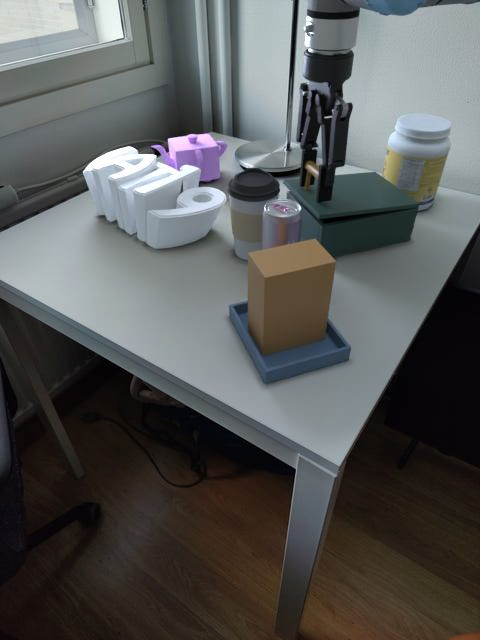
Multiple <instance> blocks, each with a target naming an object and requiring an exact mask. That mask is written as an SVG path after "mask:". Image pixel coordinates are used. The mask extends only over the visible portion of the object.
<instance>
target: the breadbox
mask: <svg viewBox="0 0 480 640" xmlns="http://www.w3.org/2000/svg"><path fill="white" fill-rule="evenodd" d="M285 199H288V200H292V201H295V202H297V203H298V204H300V206H301V212H302V223H301V234H300V242H302V241H306V240H311V239H316V240H317V241H318V242H319V243H320V244H321V245H322V246H323V248H324V249H325V250H326V251H327V252H328V253H329V254H330V255H331V256H332V257H333V258H337V257H343V256H345V255H346V256H347V255H350V254H355V253H359V252H364V251H368V250H372V249H377V248H381V247H385V246H391V245H394V244H398V243H404V242H409V241H411V238H412V234H413V230H414V227H415V223H416V220H417V216H418V212H419V211H418V207H417V208H409V209H400V210H392V211H383V212H375V213H366V214H358V215H349V216H341V217H332V218H324V219H318V218H317V217H316V216H315V215H314V214H313V213H312V212H311V211H310V210H309V209H308V208H307V207H306V206H305V205H304V204H303V203H302V202H301V201H300V200H299V199H298V198H297V197H296V196H295V195H294V194H293V193H292V192H291V191H290V190H288V191H286V198H285Z"/></svg>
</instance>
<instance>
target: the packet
mask: <svg viewBox="0 0 480 640" xmlns="http://www.w3.org/2000/svg"><path fill="white" fill-rule="evenodd" d="M335 259H336V258H335V257H332V256H331V255H330V254H329V253H328V252H327V251H326V250H325V249H324V248H323V246H322V245H321V244H320V243H319V242H318V241H317V240H316V239H311V240H306V241H302V242H301V241H300V242H297V243H292V244H288V245H283V246H278V247H273V248H269V249H264V250H259V251H255V252H250V253H248V260H247V301H248V331H249V333H250V335H251V337H252V338H253V340H254V342H255V344H256V346H257V347H258V349H259V351H260V353H261V355H262V356H266V355H270V354H273V353H277V352H280V351H284V350H288V349H291V348H295V347H299V346H302V345H306V344H310V343H313V342H317V341H320V340H324V339H325V333H326V326H327V319H328V318H329V313H330V306H331V298H332V292H333V288H334V287H333V285H334V279H335V273H336V267H337V260H335Z"/></svg>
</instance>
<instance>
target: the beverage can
mask: <svg viewBox="0 0 480 640" xmlns="http://www.w3.org/2000/svg"><path fill="white" fill-rule="evenodd" d="M301 223H302V212H301V206H300V204H298V203H297V202H295V201H292V200H288V199H286V198H279V199H276V200H272V201H270V202H268V203H267V204H266V205H265V207H264V212H263V231H262V250H264V249H269V248H273V247H278V246H283V245H288V244H292V243H297V242H301V240H300V234H301Z"/></svg>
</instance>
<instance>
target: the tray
mask: <svg viewBox="0 0 480 640" xmlns="http://www.w3.org/2000/svg"><path fill="white" fill-rule="evenodd" d="M228 310H229V311H228V314H229V315H228V316H229V319H230V321H231V322H232V324H233V326H234V328H235V330H236V332H237V334H238V336H239V338H240V339H241V341H242V343H243V345H244V347H245V349H246V351H247V352H248V355H249V356H250V358H251V360H252V362H253V364H254V366H255V367H256V370H257V372H258V374H259V375H260V377H261V379H262V381H263V382H264V385H267V384H271V383H274V382H277V381H281V380H284V379H289V378H291V377H294V376H297V375H302V374H304V373H308V372H311V371H316V370H319V369H322V368H325V367H329V366H332V365H335V364H336V365H337V364H339V363H342V362H346V361H349V360H350V356H351V350H352V347H351V345H350V344H349V343H348V341H347V340H346V339H345V338H344V336H343V335H342V333H341V332H340V331H339V330H338V329H337V327H336V326H335V325H334V323H333V322H332V321H331V319H330V318H329V317H328V319H327V326H326V333H325V339H324V340H320V341H317V342H313V343H310V344H306V345H302V346H299V347H295V348H291V349H288V350H284V351H280V352H277V353H273V354H270V355H266V356H262V355H261V353H260V351H259V349H258V347H257V346H256V344H255V342H254V340H253V338H252V337H251V335H250V333H249V331H248V300H243V301H240V302H236V303H233V304H228Z"/></svg>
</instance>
